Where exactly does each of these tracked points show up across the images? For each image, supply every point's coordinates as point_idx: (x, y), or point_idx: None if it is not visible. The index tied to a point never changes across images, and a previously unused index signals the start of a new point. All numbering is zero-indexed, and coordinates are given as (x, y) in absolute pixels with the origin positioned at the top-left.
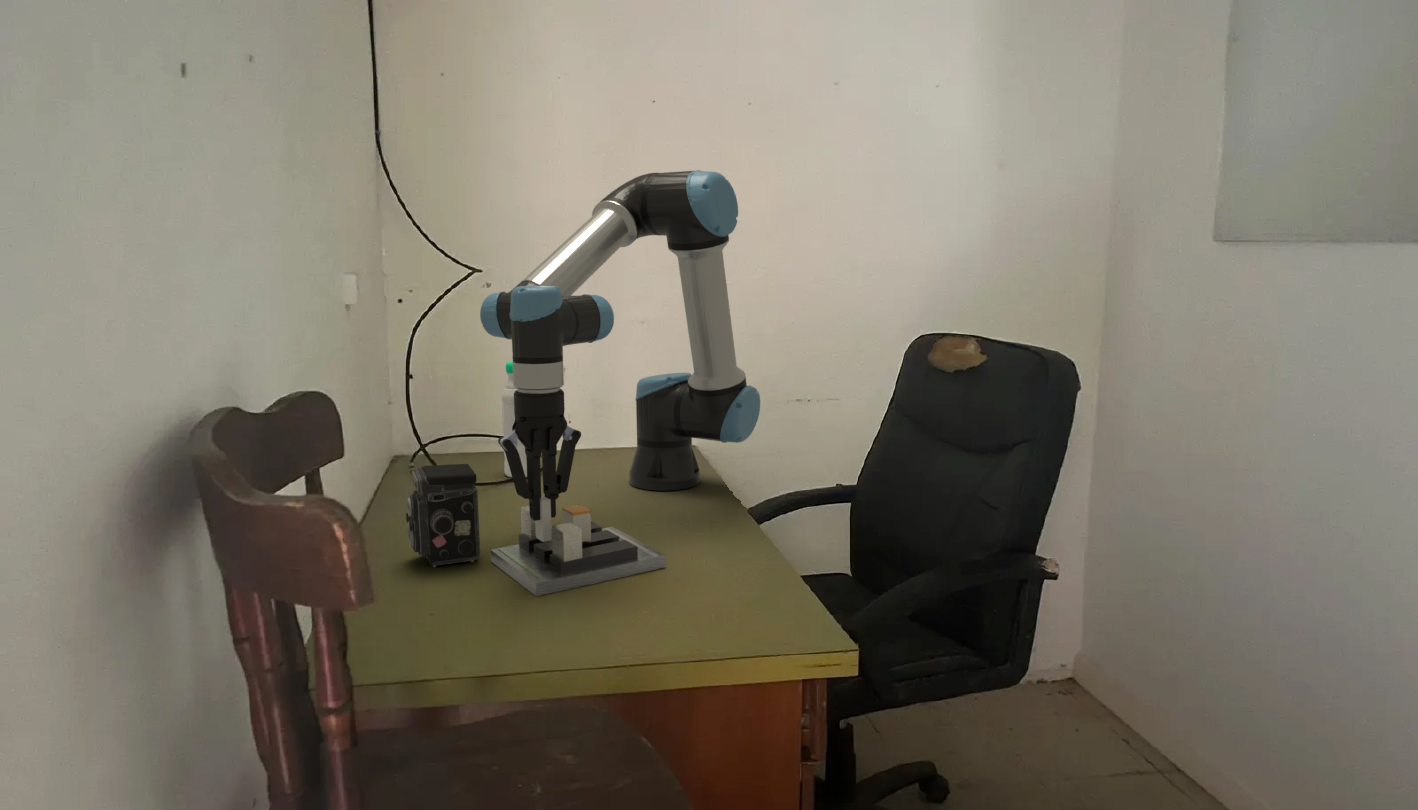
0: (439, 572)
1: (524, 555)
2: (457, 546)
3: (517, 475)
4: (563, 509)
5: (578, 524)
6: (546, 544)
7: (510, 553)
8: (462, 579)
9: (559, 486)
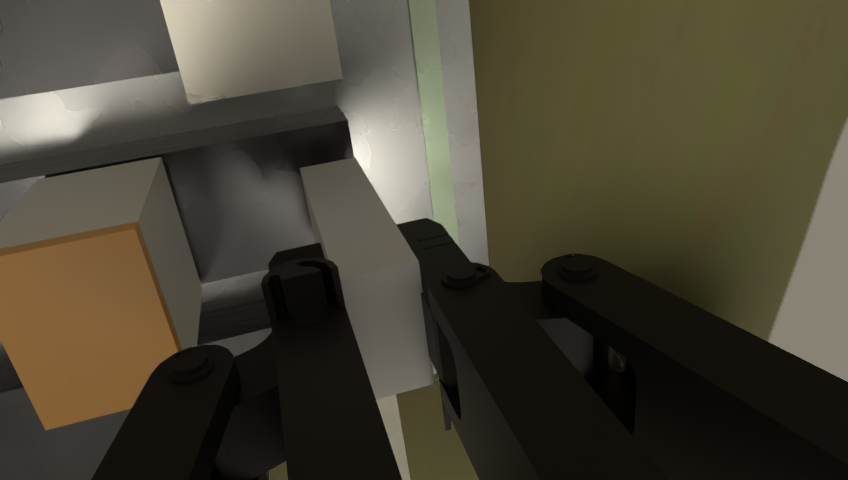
0: (653, 279)
1: None
2: (623, 363)
3: (797, 364)
4: None
5: (105, 201)
6: (309, 223)
7: None
8: (617, 186)
9: (236, 394)
